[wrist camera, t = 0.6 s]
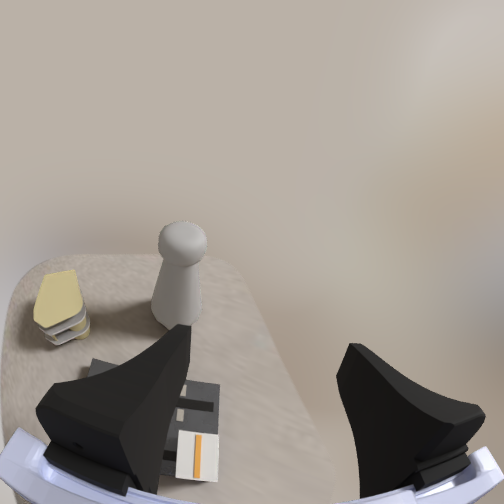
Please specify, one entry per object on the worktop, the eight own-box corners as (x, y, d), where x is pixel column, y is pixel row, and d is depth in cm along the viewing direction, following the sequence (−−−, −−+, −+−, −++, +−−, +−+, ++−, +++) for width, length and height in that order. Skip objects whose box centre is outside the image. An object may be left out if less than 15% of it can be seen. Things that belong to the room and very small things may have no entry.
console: (213, 480, 18) (216, 480, 16) (78, 451, 15) (71, 448, 14) (216, 390, 25) (220, 384, 24) (97, 365, 23) (92, 357, 22)
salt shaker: (144, 306, 30) (140, 219, 22) (184, 291, 34) (195, 206, 25) (166, 345, 28) (168, 263, 19) (208, 326, 31) (230, 243, 23)
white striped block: (211, 480, 16) (218, 482, 14) (175, 476, 16) (175, 477, 13) (212, 440, 19) (219, 434, 17) (178, 436, 19) (179, 429, 16)
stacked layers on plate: (38, 298, 26) (25, 268, 22) (98, 287, 30) (91, 256, 27) (42, 368, 20) (21, 345, 17) (112, 356, 25) (102, 331, 21)
